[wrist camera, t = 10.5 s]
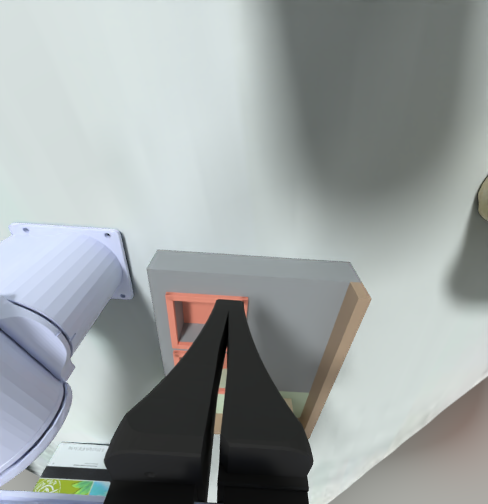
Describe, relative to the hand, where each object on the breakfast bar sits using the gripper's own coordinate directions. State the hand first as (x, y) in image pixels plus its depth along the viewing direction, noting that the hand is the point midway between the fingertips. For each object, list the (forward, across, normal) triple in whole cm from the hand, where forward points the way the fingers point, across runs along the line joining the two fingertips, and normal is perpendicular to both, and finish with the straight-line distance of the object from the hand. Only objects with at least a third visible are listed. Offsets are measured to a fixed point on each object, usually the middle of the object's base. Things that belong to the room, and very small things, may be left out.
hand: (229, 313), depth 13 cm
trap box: (+10, -2, +15) cm, 18 cm away
